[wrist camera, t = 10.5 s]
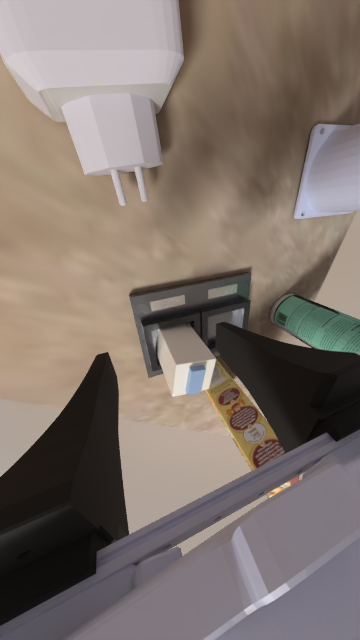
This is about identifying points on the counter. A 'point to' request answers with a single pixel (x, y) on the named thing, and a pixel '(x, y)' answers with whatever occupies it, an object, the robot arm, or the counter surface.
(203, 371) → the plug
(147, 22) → the charger
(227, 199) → the counter surface
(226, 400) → the candy box
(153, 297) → the dark grey compartment tray
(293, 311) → the spray can
